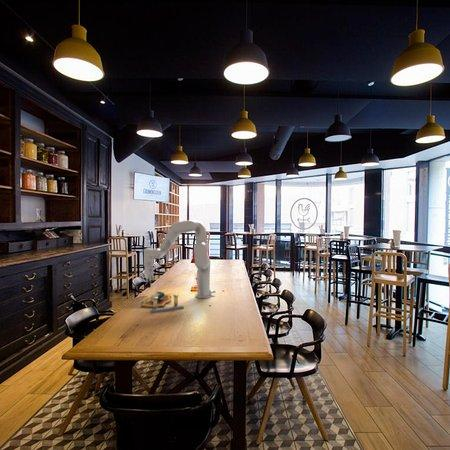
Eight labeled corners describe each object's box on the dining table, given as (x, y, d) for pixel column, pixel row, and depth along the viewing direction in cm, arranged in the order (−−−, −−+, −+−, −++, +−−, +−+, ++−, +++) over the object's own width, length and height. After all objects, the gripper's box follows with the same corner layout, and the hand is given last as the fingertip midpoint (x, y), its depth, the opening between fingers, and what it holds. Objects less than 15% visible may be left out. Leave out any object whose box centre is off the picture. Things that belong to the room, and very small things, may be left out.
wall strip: (182, 307, 210) (182, 305, 210) (183, 308, 207) (183, 306, 207) (149, 312, 199) (149, 309, 199) (150, 313, 197) (150, 311, 197)
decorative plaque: (148, 287, 238) (174, 287, 238) (148, 296, 238) (174, 297, 238) (136, 297, 208) (166, 298, 207) (136, 308, 208) (166, 309, 207)
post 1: (157, 309, 205) (157, 296, 204) (158, 311, 201) (158, 297, 201) (151, 310, 203) (151, 297, 203) (153, 311, 200) (153, 298, 199)
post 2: (177, 306, 211) (177, 294, 211) (179, 308, 208) (179, 295, 208) (172, 307, 210) (172, 294, 209) (174, 308, 206) (174, 296, 206)
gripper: (156, 265, 238) (155, 289, 238) (150, 262, 251) (150, 285, 252) (146, 265, 234) (145, 290, 235) (141, 263, 247) (141, 285, 248)
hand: (148, 287), depth 243 cm, fingers closed
